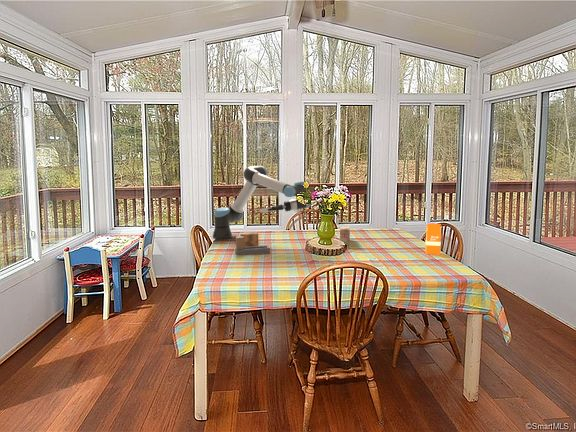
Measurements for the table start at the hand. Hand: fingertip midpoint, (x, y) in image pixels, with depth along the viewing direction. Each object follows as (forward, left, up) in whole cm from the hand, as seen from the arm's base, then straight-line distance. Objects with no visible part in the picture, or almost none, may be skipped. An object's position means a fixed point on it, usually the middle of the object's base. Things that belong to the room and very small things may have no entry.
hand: (261, 210), depth 325 cm
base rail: (-4, -21, -26) cm, 33 cm away
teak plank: (-8, -6, -26) cm, 28 cm away
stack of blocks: (+61, +13, -26) cm, 67 cm away
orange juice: (+117, -18, -26) cm, 121 cm away
